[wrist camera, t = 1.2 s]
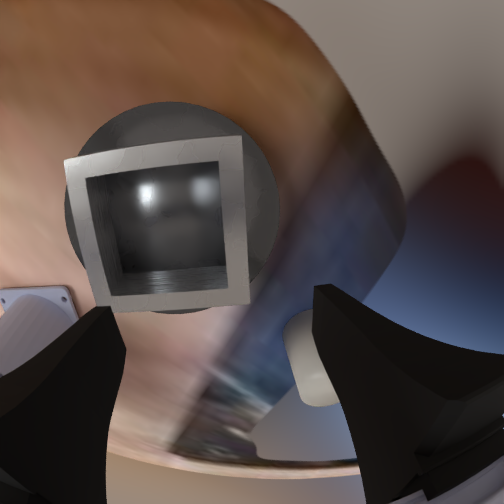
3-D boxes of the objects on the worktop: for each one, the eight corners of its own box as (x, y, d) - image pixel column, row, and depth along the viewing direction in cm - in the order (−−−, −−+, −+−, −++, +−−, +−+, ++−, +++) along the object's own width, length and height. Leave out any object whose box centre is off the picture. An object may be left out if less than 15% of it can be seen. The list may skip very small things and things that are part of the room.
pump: (332, 347, 24) (356, 399, 19) (281, 355, 24) (297, 411, 19) (340, 289, 22) (373, 339, 17) (283, 296, 22) (303, 351, 16)
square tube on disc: (272, 281, 21) (288, 330, 16) (105, 293, 20) (80, 341, 15) (267, 98, 16) (288, 88, 11) (74, 123, 15) (26, 127, 10)
